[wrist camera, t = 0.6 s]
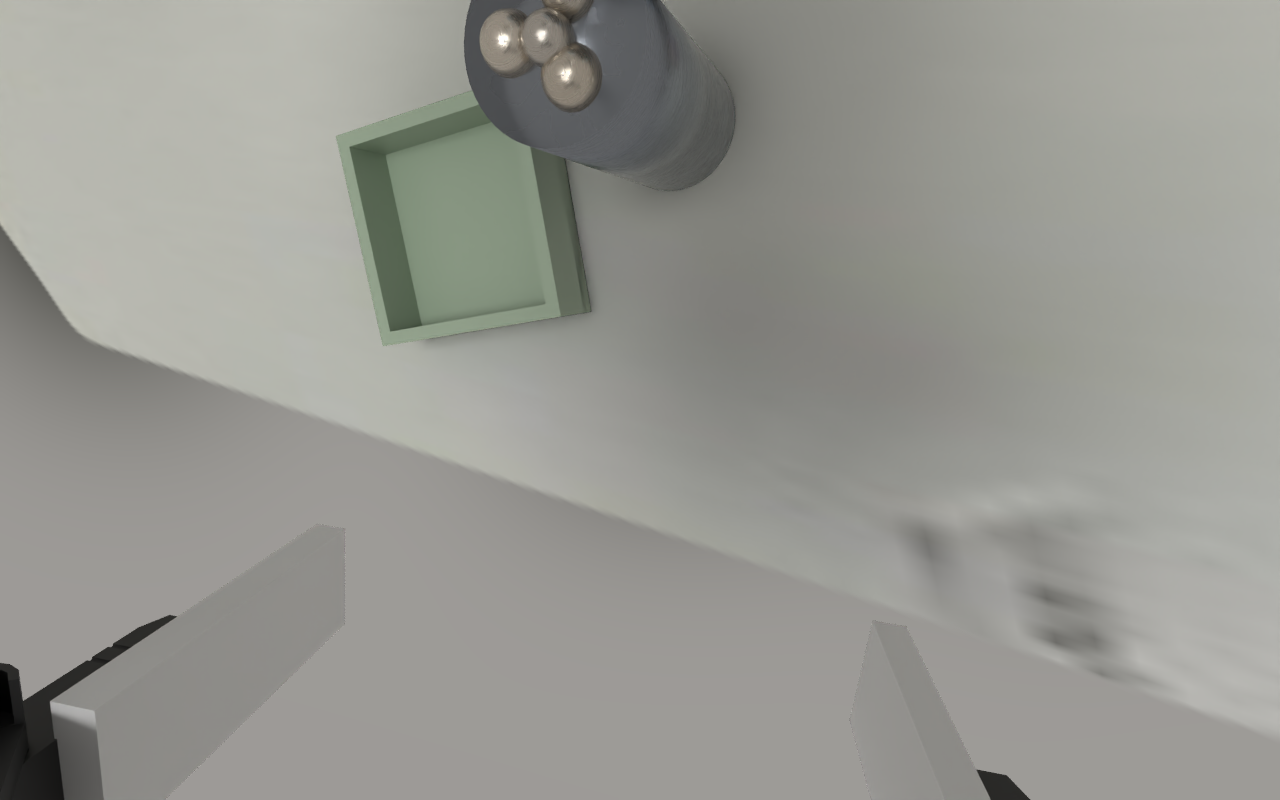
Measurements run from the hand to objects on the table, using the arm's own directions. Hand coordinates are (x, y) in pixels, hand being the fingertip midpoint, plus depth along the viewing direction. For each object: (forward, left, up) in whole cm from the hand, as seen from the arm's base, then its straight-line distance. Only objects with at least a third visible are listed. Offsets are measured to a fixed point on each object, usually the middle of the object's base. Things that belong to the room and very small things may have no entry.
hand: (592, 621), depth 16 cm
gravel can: (-17, -2, -23) cm, 28 cm away
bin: (-14, -15, -23) cm, 31 cm away
